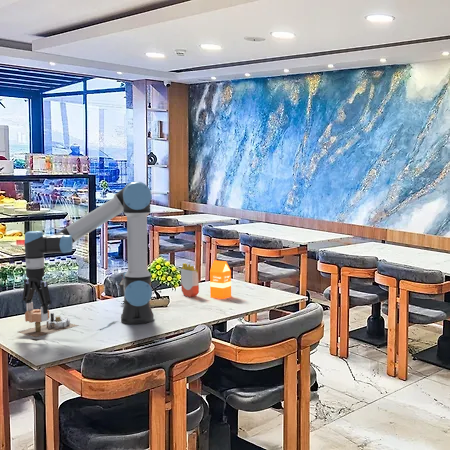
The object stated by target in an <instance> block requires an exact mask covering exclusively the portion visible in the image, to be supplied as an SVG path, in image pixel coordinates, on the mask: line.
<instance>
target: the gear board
mask: <svg viewBox="0 0 450 450" xmlns="http://www.w3.org/2000/svg"><path fill="white" fill-rule="evenodd" d="M61 318H62V317H61V316H56V317H55V316H54V319H56V322H58V321H61ZM41 324H42V322H34V327H31V328H28V329H23V330H20V331H17V334H18V333H19V334H23V335H26V336H29V337H30V336H31V337H34V338H31V340H32V341H36V342H37V341H40V340H41V339H39V338H38V337H42V336H46V335H50V334H54V333H58V332H60V331H64V330H68V329H71V328H75V327H78V326H79V324H75V323H71V322H70V326H67V327H66V328H59V329H55V328H51V329H49V328H48V327H47V323H46V324H43V325H41ZM36 338H37V339H36Z"/></svg>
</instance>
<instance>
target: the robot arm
mask: <svg viewBox="0 0 450 450" xmlns="http://www.w3.org/2000/svg"><path fill="white" fill-rule="evenodd" d="M151 200H152V191H151V190H150V187H149V186H148V185H147V184H146V183H144V182H142V181H131V182H129V183H127V184H126V185H125V186H124V187H123V188H122V189H121V190H119V191H118V192H116V193H114V196H113V198H111V199H109V200H108V201H106V202H104V203H102V204H101V205H100V206H98V207H96V208H95V209H94V210H91V211H90V212H89V213H87V214H85V215H84V216H82V217H81V218H79V219H78V220H76V221H74V222H72V223H71V224H69V225H68V226H66V227H65V228H63V229H61V230H59V231H57V232H55V234H54V235H44V233H43V231H42V230H30V231H26V232H25V233H24V243H23V244H24V253H25V268H26V269H25V277H26V278H24V280H23V292H22V301H23V302H25V306H26V307H25V308H26V311H31V310H33V309H34V302H33V298H34V294H35V292H36V293H37V295H38V298H39V301H40V304H41V305H40V309H41V322H40V323H43V322H47V321H49V319H48V310H49V307H48V306H50V305H52V302H51V301H52V300H51V296H50V290H49V283H48V281H44V280H43V277H45V271H46V270H45V254H62V253H63V254H66V253H72V252H73V247H74V246H73V244H74V243H75V242H77V241H78V240H80V239H81V238H83V237H84V236H86V235H88V234H90V233H91V232H93V231H95V230H96V229H97V228H99V227H101V226H102V225H104V224H106V223H107V222H109V221H110V220H112V219H114V218H115V217H117V216H119V215H120V214H122V213H123V214H124V215H125V216H126V222H127V223H126V224H127V225H126V227H127V228H126V233H127V234H126V236H127V271H125V272H124V273H123V274H122V278H123V280H124V296H123V301H124V304H123V308H122V314H121V316H120V322H121V323H123V324H127V325H143V324H147V323H150V322H153V321H154V319H155V317H154V313H153V309H152V306H151V304H150V300H151V299H152V296H153V288H152V273H151V272H150V271H149V270H148V216H149V215H150V214H151Z"/></svg>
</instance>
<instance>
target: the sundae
mask: <svg viewBox="0 0 450 450" xmlns="http://www.w3.org/2000/svg"><path fill="white" fill-rule="evenodd" d="M120 276H121V277H122V278H121V281H120V282H119V283H118V284H117V285H118V286H119V289H120V293H121V296H122V297H124V280H123V274H120ZM122 302H124V300H123V301H122Z"/></svg>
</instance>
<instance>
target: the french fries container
mask: <svg viewBox="0 0 450 450" xmlns="http://www.w3.org/2000/svg"><path fill="white" fill-rule="evenodd" d="M180 274H181V275H180V276H181V277H180V279H181V284H180V286H181V287H180V289H181V292H182V294H183V295H185V297H189V298H192V297H197V295H198V294H199V292H200V290H199V289H200V285H199V269H195V266H194V265H191V264H188V263H182V267H181V268H180Z"/></svg>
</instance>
